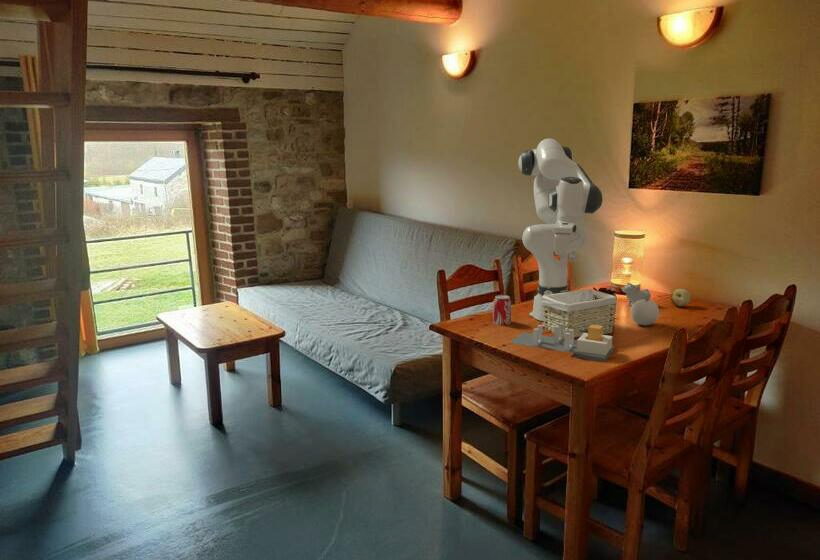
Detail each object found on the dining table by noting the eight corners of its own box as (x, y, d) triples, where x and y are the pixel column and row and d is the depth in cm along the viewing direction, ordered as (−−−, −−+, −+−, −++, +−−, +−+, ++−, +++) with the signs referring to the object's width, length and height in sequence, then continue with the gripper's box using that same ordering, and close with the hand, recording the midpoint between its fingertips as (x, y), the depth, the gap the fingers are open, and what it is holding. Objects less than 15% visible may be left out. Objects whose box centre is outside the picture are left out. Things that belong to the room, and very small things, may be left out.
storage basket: (566, 343, 217) (567, 304, 214) (538, 332, 231) (539, 294, 228) (617, 334, 226) (619, 296, 223) (587, 323, 241) (589, 287, 238)
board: (522, 336, 226) (523, 317, 224) (613, 349, 209) (614, 328, 208) (509, 347, 214) (509, 326, 212) (604, 362, 198) (605, 340, 196)
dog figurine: (618, 305, 267) (619, 281, 265) (646, 304, 269) (647, 280, 266) (623, 308, 262) (625, 284, 260) (651, 307, 263) (653, 283, 261)
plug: (580, 345, 210) (581, 323, 208) (601, 348, 206) (603, 325, 205) (577, 348, 207) (578, 326, 205) (599, 351, 203) (600, 329, 201)
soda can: (501, 329, 234) (502, 299, 232) (489, 325, 240) (489, 296, 237) (514, 326, 238) (515, 296, 236) (501, 322, 244) (502, 293, 241)
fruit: (666, 305, 265) (667, 288, 264) (679, 303, 269) (681, 286, 267) (680, 309, 259) (681, 291, 257) (694, 307, 262) (695, 289, 260)
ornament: (660, 329, 232) (662, 298, 229) (632, 328, 234) (634, 298, 231) (655, 321, 242) (657, 292, 239) (628, 320, 244) (630, 291, 241)
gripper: (568, 221, 218) (567, 258, 221) (551, 228, 201) (550, 268, 204) (586, 222, 215) (584, 260, 218) (570, 229, 198) (568, 270, 201)
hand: (567, 264), depth 211 cm, fingers open, 8 cm apart
